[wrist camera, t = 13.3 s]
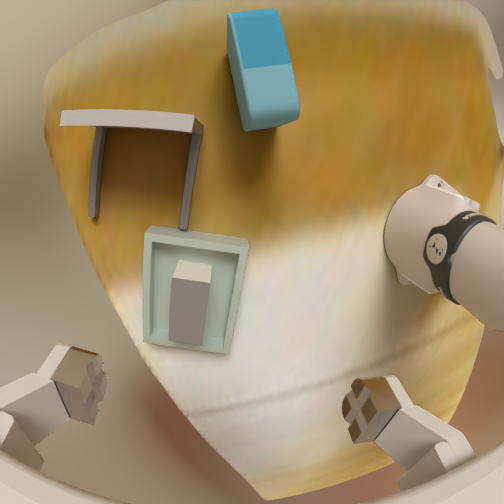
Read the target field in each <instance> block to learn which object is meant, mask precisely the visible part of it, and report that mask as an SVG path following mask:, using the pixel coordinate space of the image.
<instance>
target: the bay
mask: <svg viewBox="0 0 504 504" xmlns="http://www.w3.org/2000/svg"><path fill="white" fill-rule="evenodd" d="M60 126H93V127H96V131H95V138H94V146H93V155H92V164H91V176H90V190H89V216H90V217H96V216H97V215H99V203H100V187H101V174H102V164H103V155H104V146H105V139H106V132H107V127H108V128H131V129H146V130H159V131H169V132H179V133H188V134H193V135H192V140H191V146H190V152H189V158H188V165H187V171H186V178H185V185H184V192H183V200H182V208H181V216H180V225H179V229H186V230H187V228H188V224H189V216H190V208H191V201H192V194H193V187H194V180H195V174H196V167H197V161H198V155H199V149H200V143H201V138H202V132H203V127H204V126H203V125H202V124H201V123H200V122H199V121H198V120H197V119H196V118H195V115H190V114H180V113H170V112H157V111H141V110H108V109H93V110H62V114H61V120H60Z"/></svg>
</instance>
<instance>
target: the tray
mask: <svg viewBox="0 0 504 504" xmlns="http://www.w3.org/2000/svg"><path fill="white" fill-rule="evenodd" d="M248 252H249V244H248V240H247V239H246V238H239V237H233V236H226V235H219V234H212V233H205V232H198V231H191V230H184V229H177V228H170V227H163V226H155V225H151V226H150V227H149V228H148V230H147V231H146V232H145V238H144V257H143V342H147V343H153V344H159V345H165V346H171V347H177V348H184V349H192V350H199V351H207V352H216V353H225V354H229V352H230V346H231V341H232V336H233V330H234V325H235V320H236V315H237V309H238V304H239V299H240V294H241V288H242V283H243V278H244V273H245V267H246V262H247V257H248ZM179 260H183V261H190V262H197V263H204V264H211V265H212V270H211V280H210V289H209V296H208V304H207V311H206V319H205V327H204V336H203V344H202V345H196V344H189V343H182V342H175V341H169V340H168V339H169V313H170V295H171V280H172V277H173V274H174V272H175V269H176V267H177V264H178V261H179Z"/></svg>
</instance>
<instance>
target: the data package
mask: <svg viewBox="0 0 504 504" xmlns="http://www.w3.org/2000/svg"><path fill="white" fill-rule="evenodd" d="M227 52H228V58H229V63H230V68H231V72H232V77H233V82H234V87H235V92H236V98H237V103H238V108H239V113H240V118H241V123H242V127H243V130H244V131H245V132H248V131H254V130H260V129H266V128H273V127H279V126H282V125H285V124H287V123H290V122H293V121H295V120H297V119H298V118H299V115H300V104H299V98H298V93H297V88H296V84H295V79H294V74H293V70H292V65H291V61H290V56H289V52H288V48H287V44H286V40H285V36H284V32H283V28H282V24H281V20H280V16H279V14H278V12H277V11H276V10H275V9H264V10H252V11H243V12H235V13H229V14H228V16H227Z"/></svg>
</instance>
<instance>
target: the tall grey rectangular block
mask: <svg viewBox="0 0 504 504" xmlns="http://www.w3.org/2000/svg"><path fill="white" fill-rule="evenodd" d="M211 270H212V265H211V264H204V263H197V262H190V261H183V260H179V261H178V264H177V267H176V269H175V272H174V274H173V277H172V280H171V295H170V313H169V339H168V340H169V341H175V342H182V343H189V344H196V345H202V344H203V336H204V327H205V319H206V311H207V304H208V296H209V289H210V280H211Z"/></svg>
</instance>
